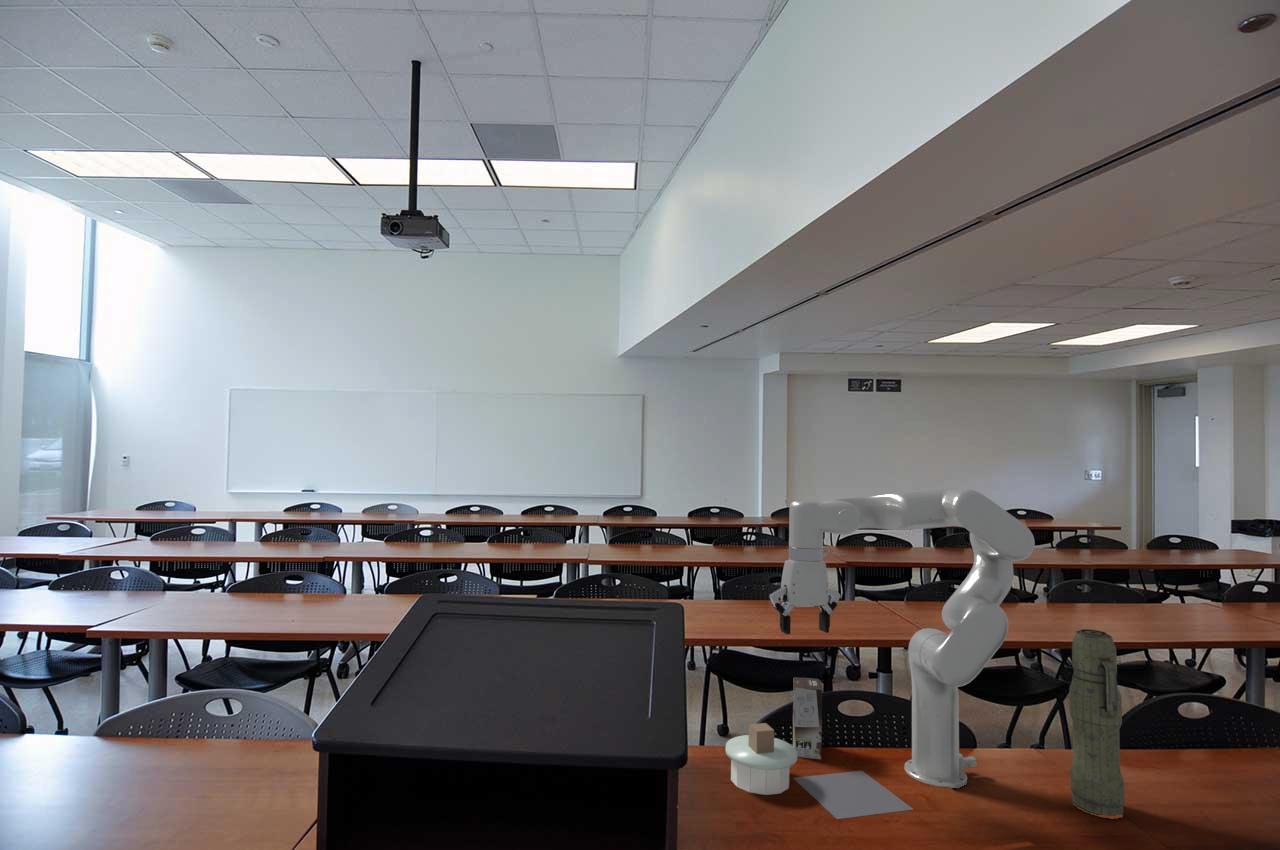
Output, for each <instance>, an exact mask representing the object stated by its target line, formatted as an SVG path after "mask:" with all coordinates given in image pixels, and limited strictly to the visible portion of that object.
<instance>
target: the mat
mask: <svg viewBox="0 0 1280 850" xmlns="http://www.w3.org/2000/svg"><path fill="white" fill-rule="evenodd" d="M792 779H793V780H794V781H796V782H797V784H799V786H801V787H802V788H803V789H804V790H805V791H806V792H807V793H808V794H809V795H810V796H811V797H813V798H814V799H815V800H816V801H817V802H818V803H819V804H820V805H821V806H822V807H823V808H824V809H825V810H826V811H828V813H830V814H831V815H832V816H833V817H834V818H835V819H837V820H843V819H850V818H859V817H867V816H876V815H882V814H884V815H885V814H891V813H898V812H899V813H900V812H907V811H914V808H912V807H911V806H910V805H909V804H907V803H906V802H905V801H903V800H902V799H901V798H900V797H898V796H896V795H895V794H894V793H893V792H891V791H890V790H889V789H887V788H886V787H885V786H883V785H882V784H881V783H879V782H878V781H876V780H875V779H874V778H872V777H871V776H870V775H869V774H867V773H866V772H865V771H863V770H856V771H855V770H854V771H846V772H836V773H827V774H817V775H808V776H798V777H792Z"/></svg>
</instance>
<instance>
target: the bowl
mask: <svg viewBox="0 0 1280 850" xmlns="http://www.w3.org/2000/svg"><path fill="white" fill-rule="evenodd" d="M730 764H731V765H730V781H731V782H732V783H733V785H734V786H736V787H737V788H739V789H741V790H744V791H746V792H747V793H750V794H751V793H752V794H755V795H756V794H758V795H764V796H768V795H769V796H770V795H777V794H782V793H783V792H785V791H787V790H788V789H790V767H788V768H784V769H778V770H762V769H755V768H750V767H747V766H743V765H741V764H738V763H736V762H734V761H733V760H731V759H730Z"/></svg>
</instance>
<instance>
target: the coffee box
mask: <svg viewBox="0 0 1280 850" xmlns="http://www.w3.org/2000/svg"><path fill="white" fill-rule="evenodd" d="M792 684H793V690H792V693H793V694H792V696H793V699H792V746H793V747H794V748H795V749H796V751H797V758H805V759H813V760H814V759H815V760H822V737H823V736H822V732H823V731H822V730H823V729H822V727H823V726H822V725H823V712H822V711H823V687H822V685H821V680H820V679H819V678H812V677H796V676H794V677H793V683H792Z"/></svg>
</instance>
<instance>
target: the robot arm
mask: <svg viewBox="0 0 1280 850" xmlns="http://www.w3.org/2000/svg"><path fill="white" fill-rule="evenodd" d="M788 515H789V523H788V525H789V526H788V532H789V533H788V536H789V537H788V559H787V560H785V561H784V564H783V569H782V575H781V582H780V584H781V585H780V588H779V589H776V590H775V591H773V592H772V593H770V594H769V595H768V596H769V599H770V601H771V603H772V607H773V608H774V609H775V610H776V611H777V614H779V628H780V631H781V633H783V634H786V635H790V634H791V624H792V623H791V619H792V618H791V615H789V614H790V613H791V611H792V610H793V608H811V607H812V608H814V607H815V608H816V607H818V608H819V609H820V610H821V611H820V612H819V614H818V629H819V630H820V631H821V632H824V633H826V634H827V633H828V634H829V633H830V627H831V615H833V611H834V610H835V609H836V608H837V607H838V603H839V601H840V599H841V594H840V593H839V592H837V591H836V590H833V588H830V587H829V577H828V570H827V564H826V562H825V561H824V557H827V556H828V550H826V549H824V533H827V534H828V533H829V534H835V535H840V536H845V535H847V536H848V535H851V534H853V533H855V532H856V531H857V530H859V529H880V530H881V529H882V530H889V531H911V530H912V531H913V530H922V529H924V530H925V529H934V528H935V529H936V528H937V529H938V528H947V527H958V528H959V527H960V528H964V529H966V530H967V531H968V532H969V542H970V545H971V547H972V551H973V557H974V558H973V565H972V567H971V569H970V571H969V572H968V574H967V576H966V577H965V579H964V580H963V581H962V582H961V584H960V585H959V586H958V587H957V588H956V589H955V591H954V592H953V593H952V594H951V596H950V597H949V598H948V599H947V601H946V602H945V603H944V605H943V607H942V609H941V619H942V622H943V623H944V624H945V626H946V627H947V628H948V629H949V630H951V631H950V632H949V634H948V633H946V632H944V631H942V630H940V629H937V628H931V627H929V628H928V627H926V628H922V629H919V630H918V631H916V632H915V633H914V634H913V635H912V636H911V638H910V640H909V643H908V648H907V652H908V654H907V655H908V660H909V661H908V662H909V668H910V675H911V759H908V760H907V761H906V762H905V763H904V771H905V772H906V774H907V775H908V776H910V777H911V778H913V779H915V780H916V781H919V782H921V783H924V784H927V785H931V786H935V787H941V788H949V789H951V788H956V789H961V788H962V786H963V787H964V785H967V783H968V776H967V774H966V773H965V771H964V770H965V769H966V768H967V767H969V768H971V767H977V765H978V761H977V758H976V757H974V756H966V757H964V755H963V754H962V753H960V725H959V724H960V721H959V720H960V715H959V714H960V713H959V711H960V701H959V695H960V694H959V687H963V686H966V685H968V684H970V683H971V682H972V681H973V680H974V679H976V678H977V676H978V675H980V673H981V672H982V670H983V669H984V668H985V667H986V665H987V664H988V663H989V662H990V660H991V659H992V658H993V656H994V655H995V654H996V652H997V651H998V650H999V649H1000V648H1001V646H1002V645H1003V643H1004V642H1005V641H1006V638H1007V636H1008V632H1009V620H1008V615H1007V613H1006V612H1005V611H1004V609H1003V608H1002V607H1001V606H1000V605H1001V604H1002V603H1003V601H1004V599H1005V598H1006V596H1008V594H1009V592H1010V590H1011V588H1012V586H1013V582H1014V565H1013V562H1020V561H1024V560H1026V559H1027V558H1028V557H1030V556H1031V555H1032V553H1033V552H1034V550H1035V545H1036V543H1035V542H1036V541H1035V537H1034V534H1033V533H1032V531H1031V530H1030V528H1029V527H1028V526H1026V525H1025V524H1024V523H1023V522H1022V521H1021V520H1019V519H1018V518H1016V517H1015V516H1013V514H1011V513H1009V512H1008V511H1006V509H1004V508H1003V507H1001V506H1000V505H999V504H997V503H996V502H994V501H993V500H992V499H990V498H989V497H987V496H986V495H984V494H983V493H981V492H979V491H977V490H974V489H969V488H967V489H965V488H943V489H933V490H932V489H931V490H930V489H929V490H919V491H907V492H896V493H887V494H880V495H870V496H860V497H859V496H858V497H846V498H835V499H828V500H825V501H823V502H819V501H817V500H794V501H792V502H791V503H790V505H789V513H788ZM829 596H831V598H830V597H829ZM779 598H780V600H779ZM829 599H830V600H829ZM780 601H781V603H780ZM960 787H961V788H960Z"/></svg>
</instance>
